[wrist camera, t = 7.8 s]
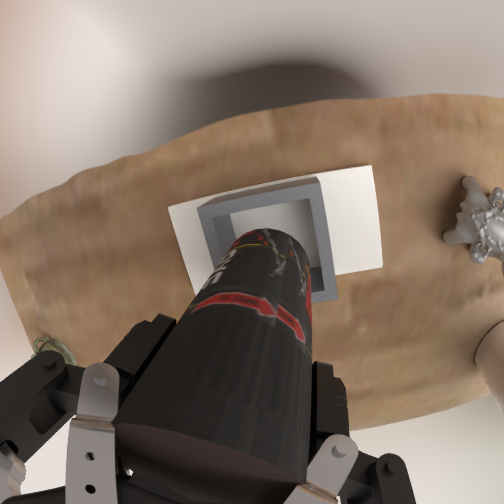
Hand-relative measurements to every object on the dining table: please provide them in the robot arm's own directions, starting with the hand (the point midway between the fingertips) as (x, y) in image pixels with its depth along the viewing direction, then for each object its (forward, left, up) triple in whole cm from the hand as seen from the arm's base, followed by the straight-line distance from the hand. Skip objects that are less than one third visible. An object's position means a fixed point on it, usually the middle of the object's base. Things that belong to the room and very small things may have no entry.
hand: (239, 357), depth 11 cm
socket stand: (0, 0, -18) cm, 18 cm away
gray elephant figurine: (-22, -9, -18) cm, 30 cm away
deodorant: (0, 0, -9) cm, 9 cm away
